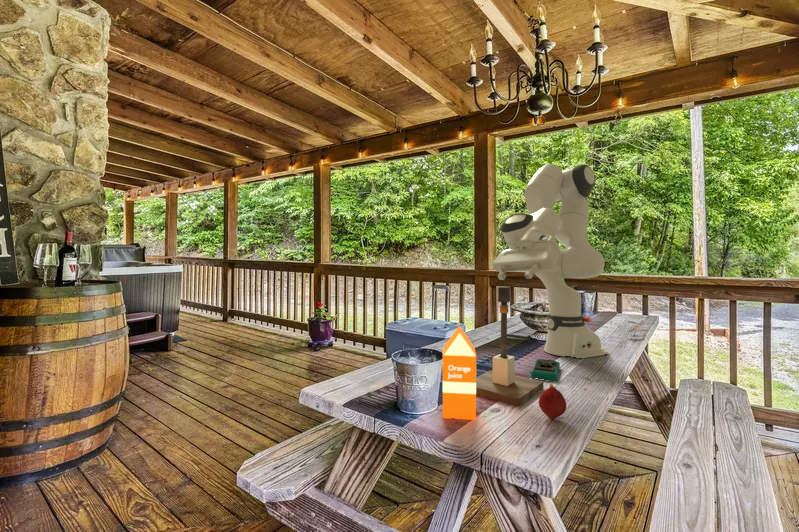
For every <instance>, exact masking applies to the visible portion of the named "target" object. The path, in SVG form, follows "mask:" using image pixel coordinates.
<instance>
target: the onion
mask: <svg viewBox="0 0 799 532" xmlns="http://www.w3.org/2000/svg"><path fill="white" fill-rule="evenodd" d="M538 405H539V406H538V407H539V408H540V410H541V412H542V413H543V414H544V415H545V416H546V417H548V419H550V420H555V419H557V418H560V417H562V415H563V414H565V412H566V411H567V400H566V398H565V397H564V395H563V394H562V392H561V391H560V390H559V389H558V388H556V387H555V386H554V384H552V383H549V387H548V388H546V389H545V390H542V392H541V393H540V395H539V397H538Z"/></svg>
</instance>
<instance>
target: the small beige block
mask: <svg viewBox="0 0 799 532" xmlns="http://www.w3.org/2000/svg"><path fill="white" fill-rule="evenodd" d="M515 359H516V357H515V356H514V355H508V354H507V359H504V358H501V353H499V354H497V355H494V356H492V370H493V378H492V382H493V383H497V384H501V385H505V386H508V385H510V384H512V383H513V382H515V375H516V372H515V371H516V368H515V367H516V366H515V365H516V361H515Z"/></svg>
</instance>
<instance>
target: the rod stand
mask: <svg viewBox="0 0 799 532" xmlns="http://www.w3.org/2000/svg"><path fill="white" fill-rule="evenodd" d="M497 302H498V303H499V302H500V304H499V313H500V354H501V358H504V359H507V355H508V351H507V350H508V349H507V348H508V314H509V305H508V303H510V302H511V286H503V285H502V286H498V287H497ZM492 378H493V369H490V370H488V371H486V372H484V373H482V374H480V375H478V376H476V396H480V397H483V398H486V399H489V400H493V401H498V402H500V403H504V404H507V405H511V406H514V407H517V408H518V407H519V408H520V407H521V406H522V405H523V404H525V403H526V402H527V401H529V400H530V399H532V398H533V397H534V396H535V395H537V394H538V393H540V392H541V391H543V389H544V380H538V379H532V378H529V377H525V376H524V377H523V376H520V375H516V374H515V382H513V383H512V384H510V385H508V386H505V385H501V384H497V383H493V382H492ZM539 391H540V392H539Z"/></svg>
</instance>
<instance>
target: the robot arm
mask: <svg viewBox="0 0 799 532" xmlns="http://www.w3.org/2000/svg"><path fill="white" fill-rule="evenodd" d="M595 182H596V176H595V173H594V171H593V169H592V168H591V167H590V166H589V165H587V164H577V165H574V167H570V168H567V169H564V170H562V168H561V167H560V166H559V165H557V164H554V163H546V164H544V165H542V166H541V167H540V168H538V170H537V171H536V172H534V174H533V175H532V177H531V178H530V179H529V181H528V183H527V184H526V187H525V191H524V201H525V204H526V207H527V211H528V213H517V212H516V213H513V214H511V215H509V216H508V217H506V219H505V220H504V221H503V222H502V224H501V226H500V232H501V234H502V236H503V238H504V241H505V243H506V246H507V247H508V248H507V249H505V250H502V251H501V252H500V253H499V254H498V255H497V256H496V258H495V259H494V261H492V266H493V268H494V269H495V271H496V272H497V273H499V274H498V275H497V278H498V280H499V281H504V280H505V279H506V277H507V275H506V273H508V272H522V271H523V272H525V273H524V277H525V279H527V280H531V279H532V278H533V277H534V275H535V276H536V277H537V278H539V279H540V281H541V282H542V283H543V285H544V286H545V288H546V292H547V296H548V297H547V298H548V313H547V335H546V342H545V345H544V348H543V351H544V352H546V353H547V354H551V355H555V356H557V357H558V356H560V357H565V356H571V357H570V358H573V357H576V358H575V359H579V358H582V359H587V358H588V357H589V358H594V357H601V356H606V355H605V354H607V355H608V354H609V351H608V350H607V349H605V348H604V347H602V342H601V338H600V336H599V335H598V334H596V333H595V332H594V331H593V330H592V329H590V328H589V327H588V326H587V325H586V323H588V324H589V323H590V322H591V321H592V319H591V317H589V316H583V315H582V296H581V294H580V293H579V292H578V291H577V290H575V289H574V288H572V286H571V287H570V286H569V285H568V284H567V283H566V282H565V279H579V280H580V279H581V280H582V279H583V280H584V279H591V278H598V277H599V276H600V275H601V274H602V273H603V271H604V269H605V264H606V263H605V258H604V256H603V255H602V252H600V251H599V250H598V249H596V248H594V247H593V246H592V245H591V244H590V243H589V240H588V225H589V224H588V223H589V214H590V213H589V211H590V210H589V202H588V201H587V199H586V198H588V197H589V196H590V194H591V191H592V190H593V188H594V186H595ZM556 202H557V203H558V202H561V206H560V209H559V212H557V211H556V210H554V209H553V207H554V204H555V203H556ZM559 243H560V244H559ZM560 245H562V246H564V247H566V248H561V247H560ZM589 358H588V359H589Z"/></svg>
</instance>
